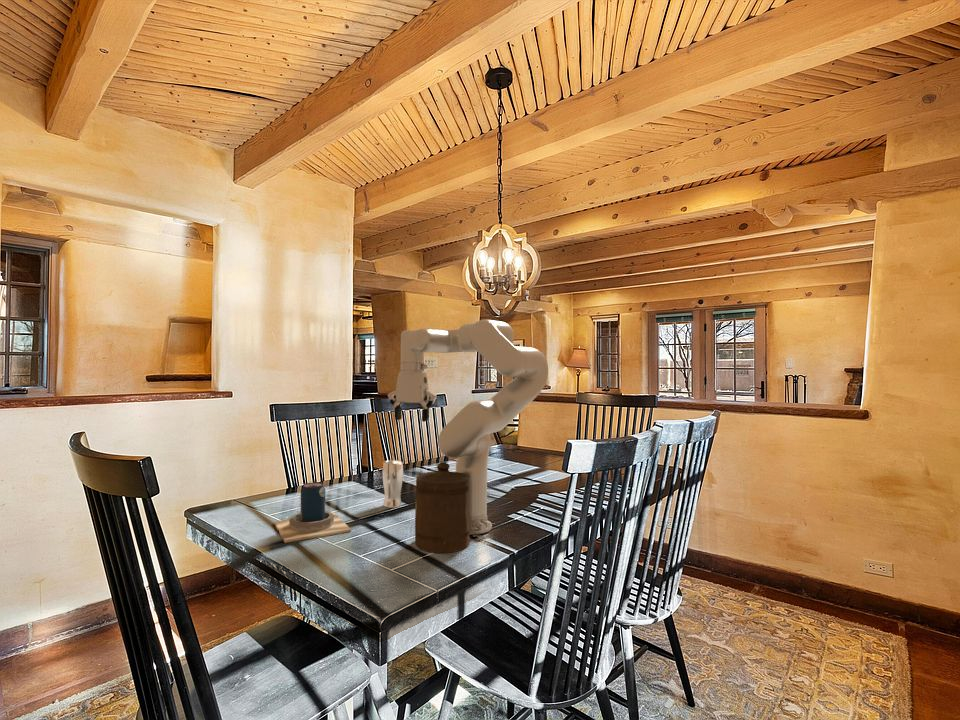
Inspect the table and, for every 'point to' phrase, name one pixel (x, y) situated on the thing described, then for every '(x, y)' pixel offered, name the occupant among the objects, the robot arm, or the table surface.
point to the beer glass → (392, 482)
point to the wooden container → (442, 511)
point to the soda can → (312, 502)
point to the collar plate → (309, 535)
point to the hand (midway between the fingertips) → (411, 420)
